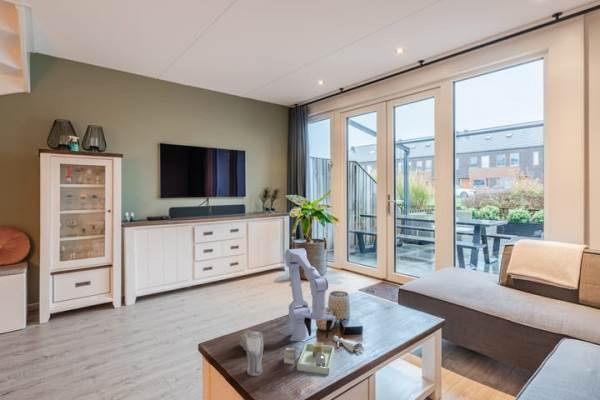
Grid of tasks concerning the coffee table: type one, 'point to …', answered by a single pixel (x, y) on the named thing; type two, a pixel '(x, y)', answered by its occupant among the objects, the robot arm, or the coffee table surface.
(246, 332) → the fossil replica
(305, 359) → the tray
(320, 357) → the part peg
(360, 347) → the woman figurine
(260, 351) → the beer glass
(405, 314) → the coffee table surface
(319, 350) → the part oak
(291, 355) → the part birch
